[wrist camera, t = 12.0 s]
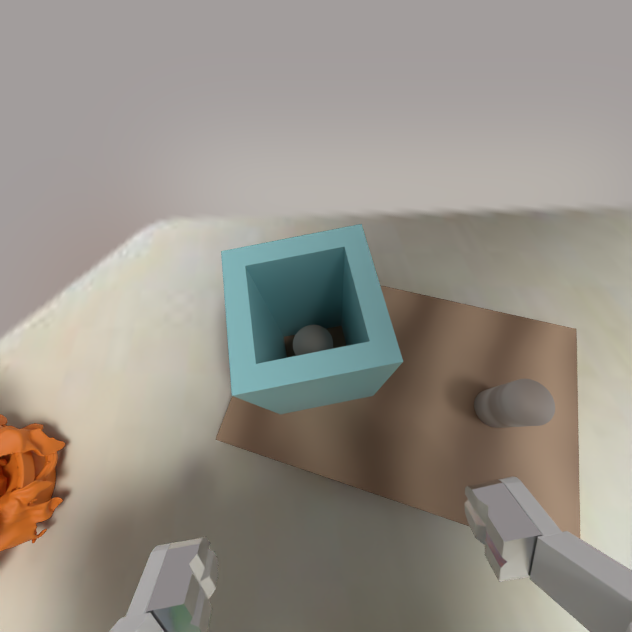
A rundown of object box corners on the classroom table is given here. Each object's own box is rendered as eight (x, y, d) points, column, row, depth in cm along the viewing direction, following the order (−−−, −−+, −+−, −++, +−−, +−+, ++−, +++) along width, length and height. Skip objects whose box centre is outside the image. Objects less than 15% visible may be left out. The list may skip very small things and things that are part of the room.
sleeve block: (351, 310, 23) (361, 223, 13) (373, 395, 20) (403, 361, 11) (268, 327, 23) (221, 251, 13) (280, 414, 20) (231, 395, 11)
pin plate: (561, 335, 22) (627, 306, 17) (561, 553, 18) (653, 602, 12) (285, 272, 26) (273, 233, 21) (223, 439, 21) (187, 440, 16)
